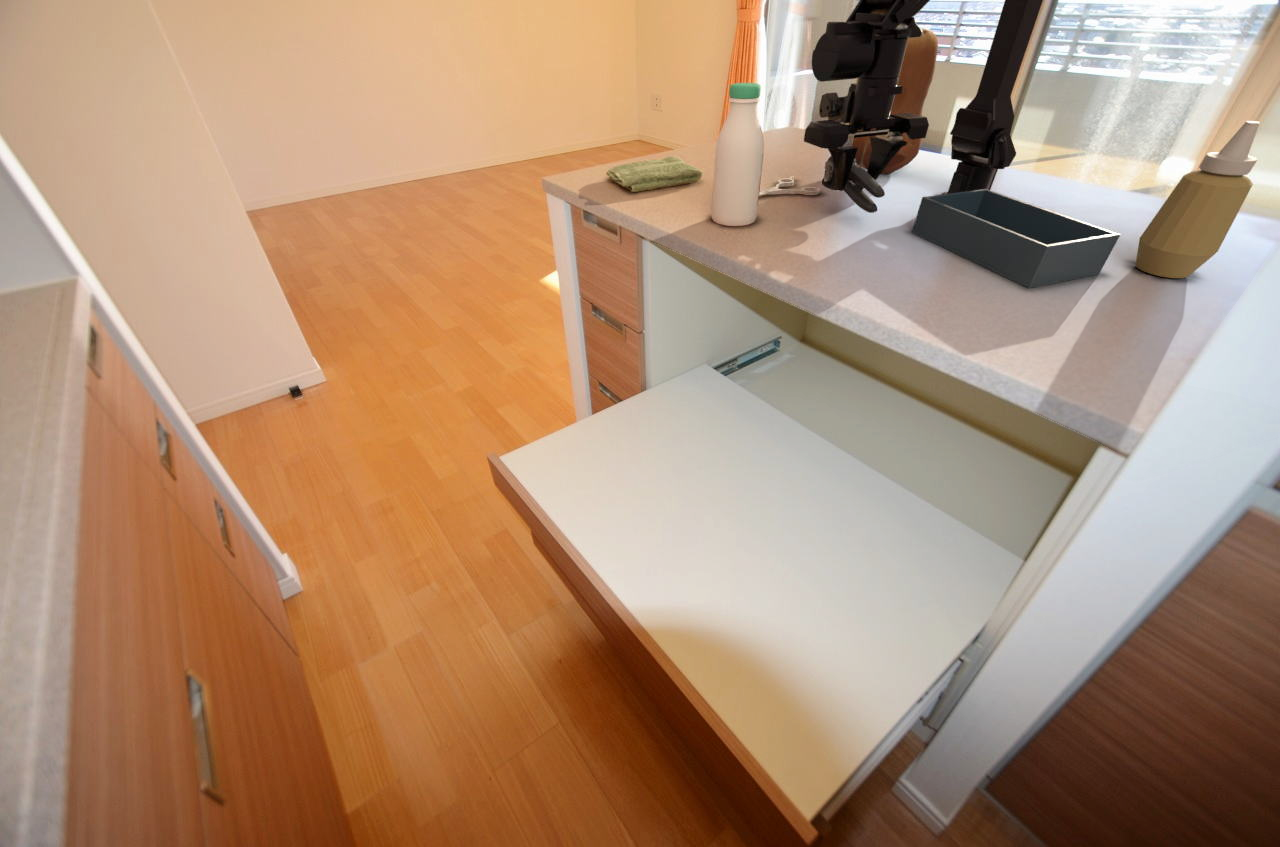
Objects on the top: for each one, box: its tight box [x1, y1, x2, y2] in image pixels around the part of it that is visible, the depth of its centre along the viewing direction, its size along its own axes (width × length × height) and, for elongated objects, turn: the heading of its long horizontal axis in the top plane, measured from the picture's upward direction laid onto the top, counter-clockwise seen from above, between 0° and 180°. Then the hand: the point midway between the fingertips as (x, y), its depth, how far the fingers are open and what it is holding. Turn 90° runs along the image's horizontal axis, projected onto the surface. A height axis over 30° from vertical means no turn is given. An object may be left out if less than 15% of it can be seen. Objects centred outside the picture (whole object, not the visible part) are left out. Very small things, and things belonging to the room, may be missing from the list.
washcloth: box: [606, 155, 703, 193], centre depth 112 cm, size 13×18×3 cm
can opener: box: [821, 155, 886, 214], centre depth 88 cm, size 18×7×6 cm, turn 5°
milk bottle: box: [710, 82, 765, 227], centre depth 87 cm, size 8×8×20 cm
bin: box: [911, 189, 1121, 289], centre depth 78 cm, size 12×22×6 cm, turn 18°
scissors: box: [759, 175, 821, 197], centre depth 104 cm, size 11×1×20 cm
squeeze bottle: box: [1135, 120, 1261, 279], centre depth 68 cm, size 8×8×18 cm
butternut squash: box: [852, 27, 939, 175], centre depth 107 cm, size 14×13×25 cm
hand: (854, 188), depth 89 cm, fingers closed on can opener, 5 cm apart
